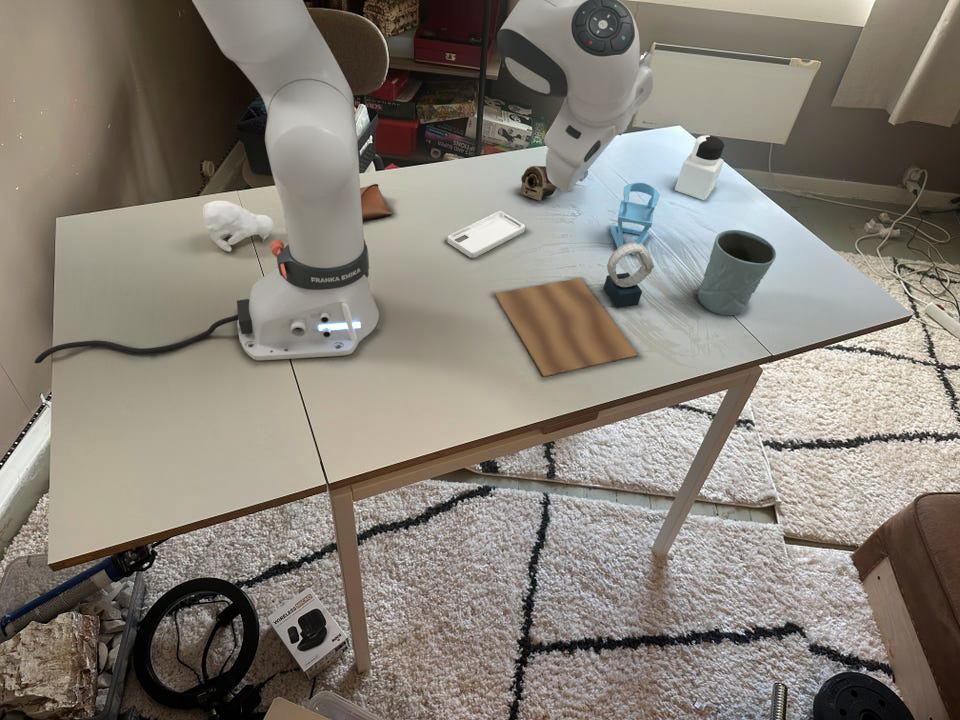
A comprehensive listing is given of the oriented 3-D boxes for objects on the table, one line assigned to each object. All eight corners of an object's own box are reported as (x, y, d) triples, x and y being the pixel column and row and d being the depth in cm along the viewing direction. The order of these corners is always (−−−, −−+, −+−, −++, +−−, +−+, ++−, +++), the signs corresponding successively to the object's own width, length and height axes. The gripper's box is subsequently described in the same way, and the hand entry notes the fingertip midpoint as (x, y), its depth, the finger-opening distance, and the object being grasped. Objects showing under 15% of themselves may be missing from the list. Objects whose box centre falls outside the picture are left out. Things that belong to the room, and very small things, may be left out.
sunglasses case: (310, 235, 121) (300, 199, 119) (301, 234, 128) (291, 201, 125) (396, 214, 129) (388, 180, 127) (384, 214, 135) (376, 182, 133)
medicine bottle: (714, 188, 147) (732, 138, 138) (704, 201, 142) (722, 150, 134) (684, 178, 149) (700, 128, 141) (674, 190, 145) (690, 140, 136)
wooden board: (543, 377, 100) (543, 375, 100) (495, 295, 114) (495, 293, 113) (637, 356, 105) (637, 354, 105) (580, 279, 118) (580, 278, 118)
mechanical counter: (512, 160, 138) (528, 173, 130) (567, 150, 140) (586, 163, 132) (514, 192, 142) (530, 207, 134) (567, 182, 145) (586, 196, 136)
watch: (647, 303, 115) (664, 253, 107) (607, 309, 113) (621, 258, 105) (633, 284, 119) (648, 234, 111) (594, 290, 117) (607, 239, 109)
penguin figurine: (198, 195, 114) (268, 190, 118) (205, 236, 119) (271, 230, 124) (203, 213, 110) (275, 208, 114) (209, 255, 115) (277, 248, 120)
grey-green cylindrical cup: (683, 288, 119) (704, 233, 110) (728, 279, 122) (751, 225, 113) (715, 323, 112) (740, 267, 104) (762, 312, 115) (789, 258, 107)
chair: (606, 250, 126) (620, 196, 117) (610, 227, 132) (624, 174, 123) (645, 257, 125) (662, 203, 117) (648, 235, 131) (664, 182, 122)
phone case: (472, 259, 121) (525, 231, 129) (472, 253, 120) (526, 225, 128) (446, 241, 124) (499, 215, 132) (446, 236, 123) (500, 210, 131)
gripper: (631, 33, 87) (626, 91, 100) (535, 147, 87) (543, 190, 100) (669, 57, 86) (659, 113, 99) (571, 173, 85) (574, 213, 99)
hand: (600, 153), depth 100 cm, fingers open, 8 cm apart
